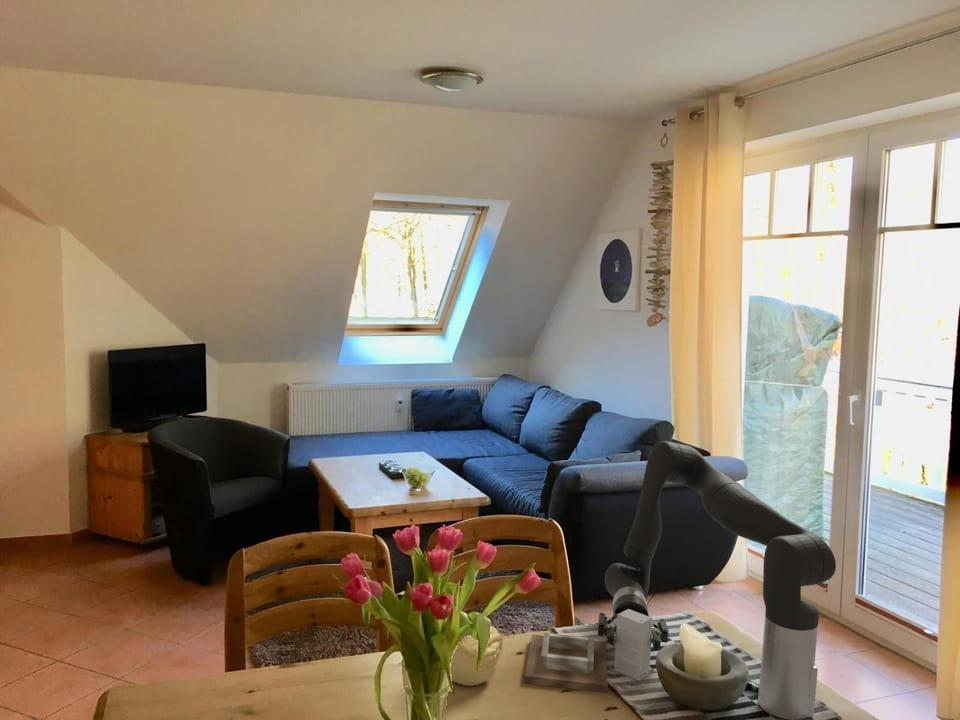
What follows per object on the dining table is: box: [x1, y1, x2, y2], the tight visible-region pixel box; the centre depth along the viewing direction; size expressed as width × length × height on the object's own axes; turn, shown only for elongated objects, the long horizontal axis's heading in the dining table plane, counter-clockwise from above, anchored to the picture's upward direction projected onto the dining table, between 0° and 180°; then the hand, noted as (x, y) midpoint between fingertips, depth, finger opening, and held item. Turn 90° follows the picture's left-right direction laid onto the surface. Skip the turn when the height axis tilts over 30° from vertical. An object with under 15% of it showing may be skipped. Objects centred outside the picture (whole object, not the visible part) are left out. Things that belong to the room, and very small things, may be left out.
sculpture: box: [451, 625, 504, 687], centre depth 153 cm, size 12×12×11 cm
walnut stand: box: [524, 632, 609, 693], centre depth 160 cm, size 16×18×4 cm
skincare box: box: [613, 609, 653, 682], centre depth 157 cm, size 6×4×12 cm
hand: (634, 643), depth 156 cm, fingers open, 8 cm apart
